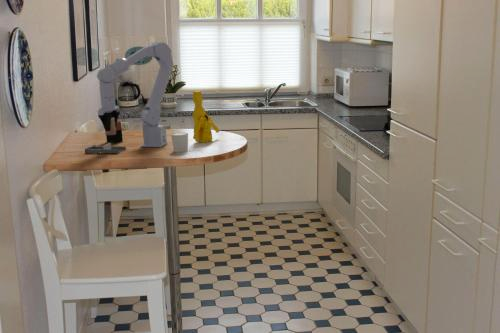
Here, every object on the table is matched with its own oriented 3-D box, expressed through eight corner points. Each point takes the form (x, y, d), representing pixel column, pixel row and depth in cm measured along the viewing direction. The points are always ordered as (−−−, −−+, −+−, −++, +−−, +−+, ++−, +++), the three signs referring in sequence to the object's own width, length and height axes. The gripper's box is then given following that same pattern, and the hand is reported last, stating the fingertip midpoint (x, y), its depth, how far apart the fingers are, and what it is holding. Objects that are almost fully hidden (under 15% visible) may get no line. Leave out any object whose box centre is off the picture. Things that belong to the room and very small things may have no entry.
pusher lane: (126, 150, 265) (125, 145, 265) (117, 153, 258) (117, 149, 257) (94, 149, 269) (93, 145, 269) (85, 153, 262) (84, 148, 261)
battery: (115, 143, 282) (113, 121, 280) (106, 142, 287) (104, 120, 284) (123, 141, 285) (121, 119, 283) (114, 140, 290) (112, 118, 288)
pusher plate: (111, 150, 266) (110, 143, 265) (105, 152, 261) (104, 145, 260) (110, 150, 266) (109, 143, 265) (103, 152, 261) (103, 145, 260)
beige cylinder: (182, 152, 254) (181, 135, 253) (169, 151, 258) (167, 134, 256) (192, 149, 260) (191, 132, 258) (179, 148, 263) (178, 131, 262)
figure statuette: (197, 145, 267) (194, 93, 263) (183, 144, 272) (180, 93, 267) (223, 138, 281) (220, 89, 277) (209, 137, 286) (206, 88, 281)
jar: (118, 133, 266) (116, 116, 264) (112, 135, 262) (110, 118, 260) (108, 133, 267) (107, 116, 266) (103, 135, 263) (101, 118, 262)
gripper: (107, 95, 269) (110, 127, 272) (89, 99, 255) (93, 132, 258) (122, 95, 267) (125, 127, 270) (105, 99, 253) (108, 132, 256)
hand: (110, 129), depth 264 cm, fingers closed on jar, 4 cm apart
